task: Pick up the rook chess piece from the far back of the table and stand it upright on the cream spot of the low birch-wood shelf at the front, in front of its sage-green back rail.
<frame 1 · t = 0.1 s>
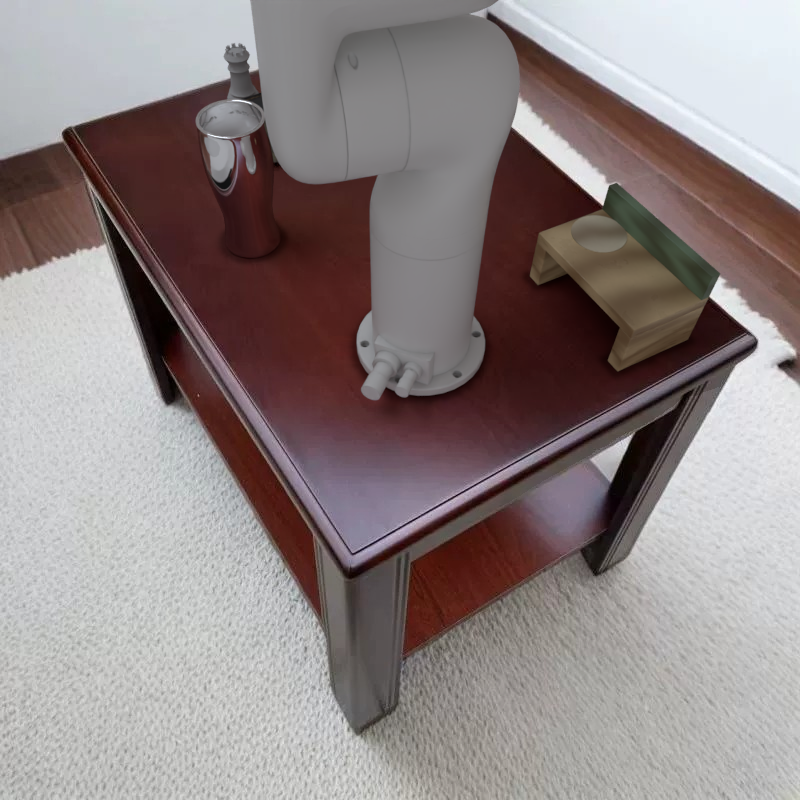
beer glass: (253, 241, 82), on the table
shelf: (606, 306, 76), on the table
rook chess piece: (245, 108, 97), on the table
boat shoe: (325, 131, 95), on the table
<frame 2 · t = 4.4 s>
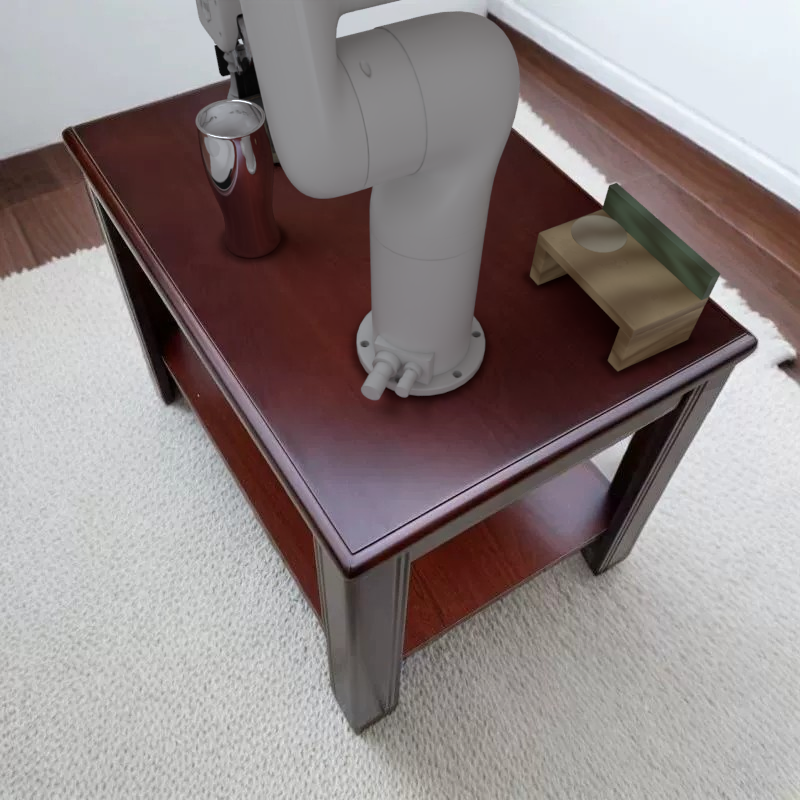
hand: (241, 85, 95), 3 cm above the table, tool pointing down, fingers open, 6 cm apart
nothing on the table moved.
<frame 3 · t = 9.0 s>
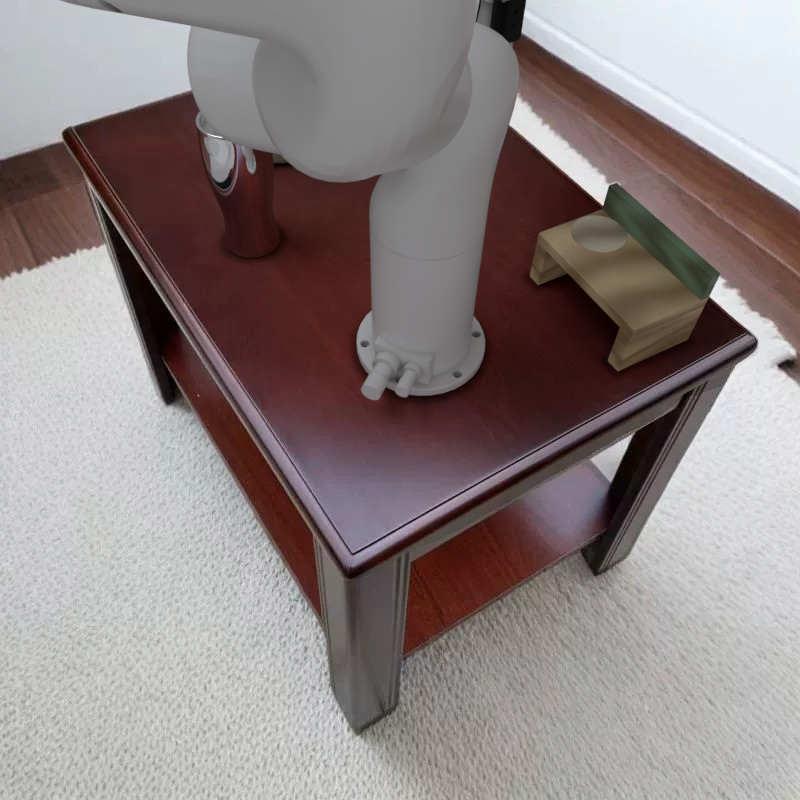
hand: (490, 30, 66), 22 cm above the table, tool pointing down, fingers closed on rook chess piece, 3 cm apart
rook chess piece: (487, 60, 69), point 19 cm above the table, touching gripper
everything else where it was.
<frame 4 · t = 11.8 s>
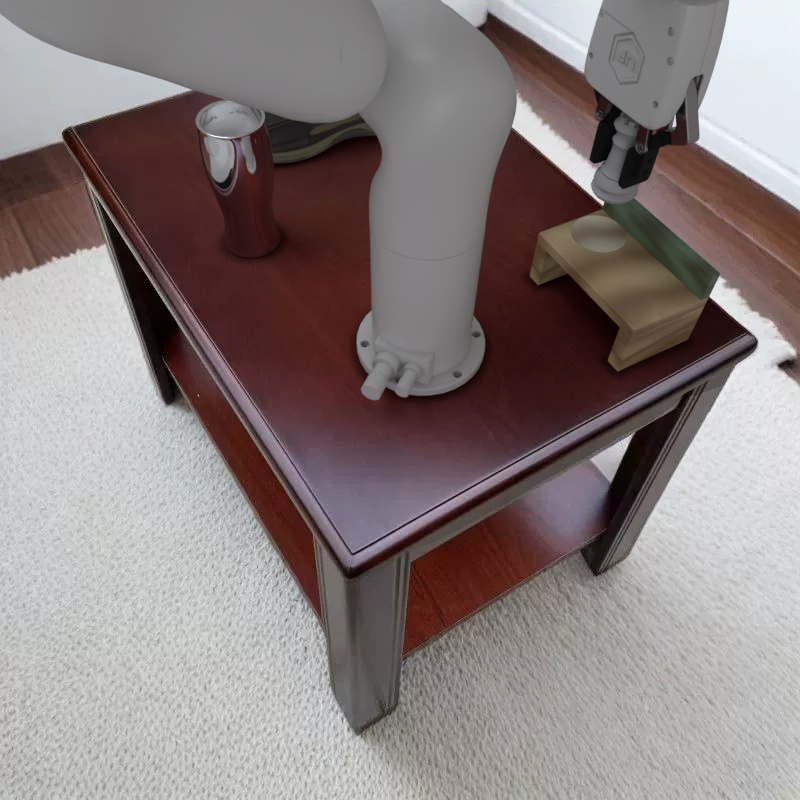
hand: (618, 169, 68), 14 cm above the table, tool pointing down, fingers closed on rook chess piece, 3 cm apart
rook chess piece: (612, 193, 70), point 11 cm above the table, touching gripper
everything else where it was.
when the fingers open (9 cm above the table, at t = 13.3 s): rook chess piece stays where it is, resting on shelf.
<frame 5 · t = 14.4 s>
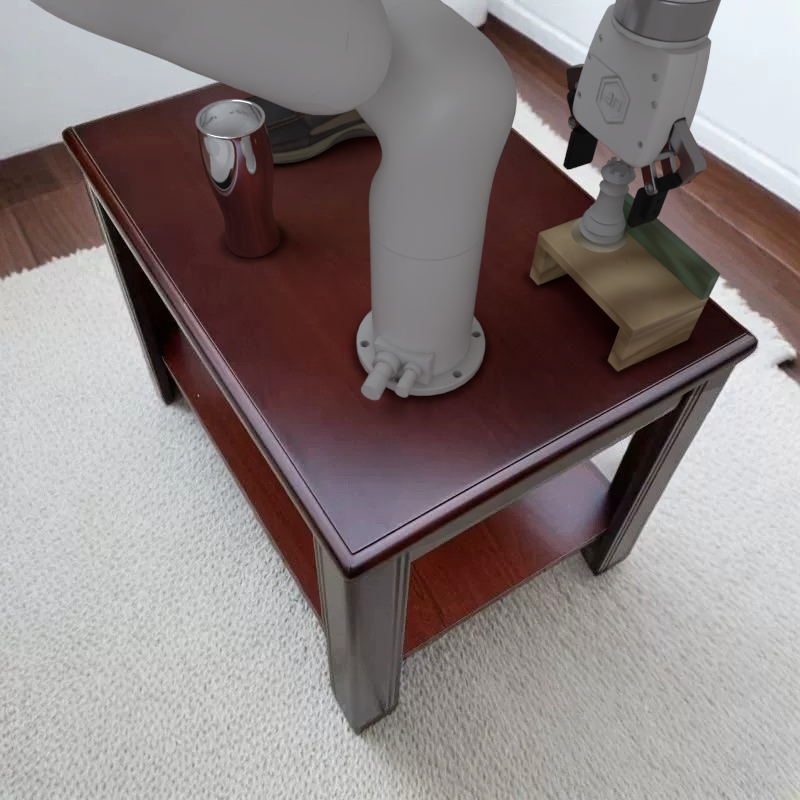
hand: (608, 192, 70), 11 cm above the table, tool pointing down, fingers open, 9 cm apart
rook chess piece: (600, 234, 74), point 6 cm above the table, touching shelf
everything else where it was.
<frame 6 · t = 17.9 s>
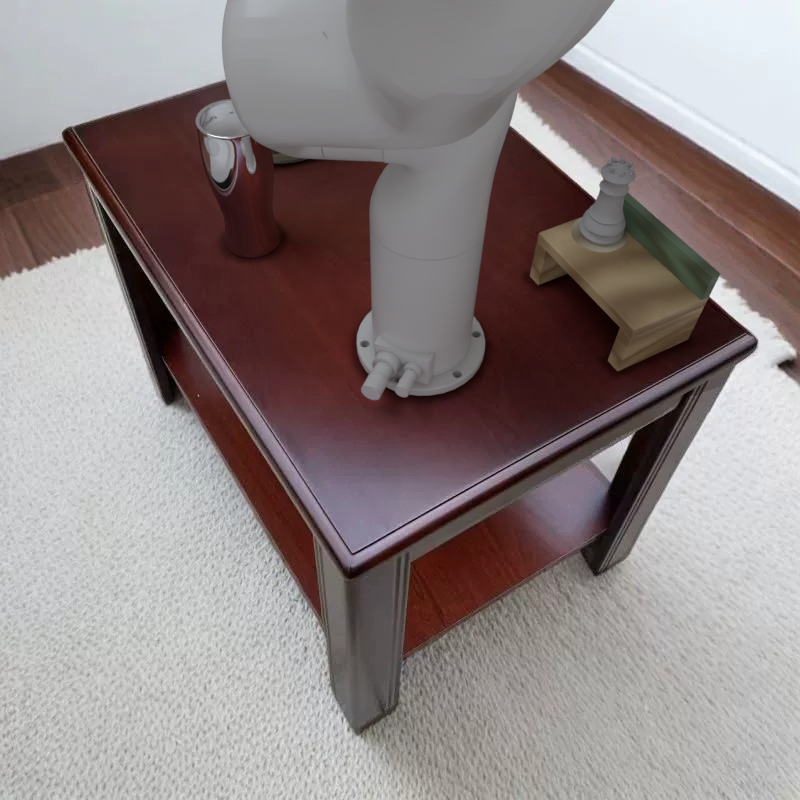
nothing on the table moved.
at the end: rook chess piece 0.1 cm from the target spot on the shelf, point 5.9 cm above the shelf's base; rook chess piece tilted 0°; the gripper is holding nothing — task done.
